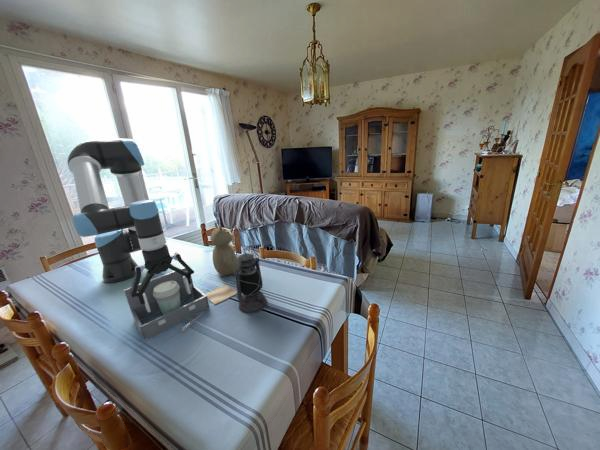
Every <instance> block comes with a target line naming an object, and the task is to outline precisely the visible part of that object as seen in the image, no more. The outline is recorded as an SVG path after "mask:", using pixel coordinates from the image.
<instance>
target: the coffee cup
mask: <svg viewBox="0 0 600 450" xmlns="http://www.w3.org/2000/svg"><path fill="white" fill-rule="evenodd" d="M179 289H180V286H179V285H178V284H177V282H176V281H166V282H163V283H161V284H159V285H157V286H156V287H155V288H154V290H153V296H154V297H155V299H156V301H157V303H158V305H159V307H160V309H161V313H162V316H163V315H165V314H167V313H169V312H171V311H173V310H176V309H178V308H180V307H182V304H181V303H182V302H181V301H180V293H179Z"/></svg>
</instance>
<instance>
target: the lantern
mask: <svg viewBox="0 0 600 450" xmlns="http://www.w3.org/2000/svg"><path fill="white" fill-rule="evenodd" d="M241 232H242V233H244V234H246V235H247V236H246V237H247V239H248V243H249V246H250V247H251V250H252V252H253V253H246V252H247V251H246V248H244V249H243V252H244V253H243V254H241V255H239V257H238V260H239V261H237V265H238V268H237V269H236V270H234V274H233V276H234V277H235V284H236V292H237V294H236V295H237V300H238V310H239V311H240V312H241V313H243V314H248V315H250V314H256V313H259V312H261V311H263V310H264V309H265V308H266V306H267V305H268V300H267V297H266V296H265V295H264V293H263V292H262V291H261V290H262V289H263V286H264V285H263V278H262V273H261V272H262V271H261V268H260V258H259V257H257V255H256V253H255V250H254V248H253V246H252V244H251V241H250V237H249V233H248V232H246V231H244V230H242V229H240V230H239V233H238V235H237V237H236V241H238V240H239V239H238V238H239V236H240V234H241ZM235 251H236V252H235V255H236V257H237V256H238V244H236V250H235ZM235 268H236V258H235Z"/></svg>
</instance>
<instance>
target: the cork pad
mask: <svg viewBox="0 0 600 450" xmlns="http://www.w3.org/2000/svg"><path fill="white" fill-rule="evenodd" d="M204 294H205V295H206V296H207V299H208V301H210V303H212V304H213V305H214V306H217V305H218V304H221V303H222V302H224V301H227V300H228V299H230V298H232V297H234V296H236V295H238V294H237V290H234V289H233V288H232V287H230V286H229V285H227V284H224V285H221V286H219V287H217V288H215V289H213V290H211V291H209V292H206V293H204Z"/></svg>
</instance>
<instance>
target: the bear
mask: <svg viewBox="0 0 600 450" xmlns="http://www.w3.org/2000/svg"><path fill="white" fill-rule="evenodd" d="M235 236H236V234H235V233H232V232H229V231H227V229H223V227H222V225H220V224H219V225H218V224H217V222H216V221H214V228H213V230H212V232H211V234H210V238H209V239H210V241H211V243H212V244H213V245H214V247H213V250H212V264H213V267H214V269H215V271H216V272H217V273H218V274H219V275H220V276H224V277H225V276H230V275H234V270H236V269H237V268H238V265H237V261H239V260H238V257H239V256H240V255H239V256H238V255H237V257H236V252H235V251H234V249H233V247H232V246H231V245H229V244H230V243H231V242H232V241H233V240H234V239H235ZM235 258H236V268H235Z"/></svg>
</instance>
